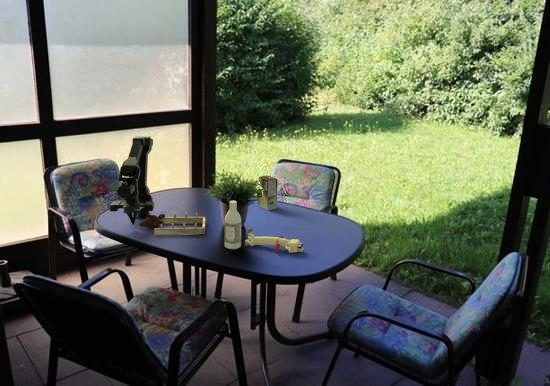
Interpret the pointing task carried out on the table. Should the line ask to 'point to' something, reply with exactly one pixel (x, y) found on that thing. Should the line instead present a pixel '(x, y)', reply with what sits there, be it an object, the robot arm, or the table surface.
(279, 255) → the table surface
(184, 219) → the dish rack
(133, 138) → the robot arm
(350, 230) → the table surface
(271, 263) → the table surface
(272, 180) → the coffee box
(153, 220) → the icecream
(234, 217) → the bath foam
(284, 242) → the yellow toy animal
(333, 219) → the table surface
